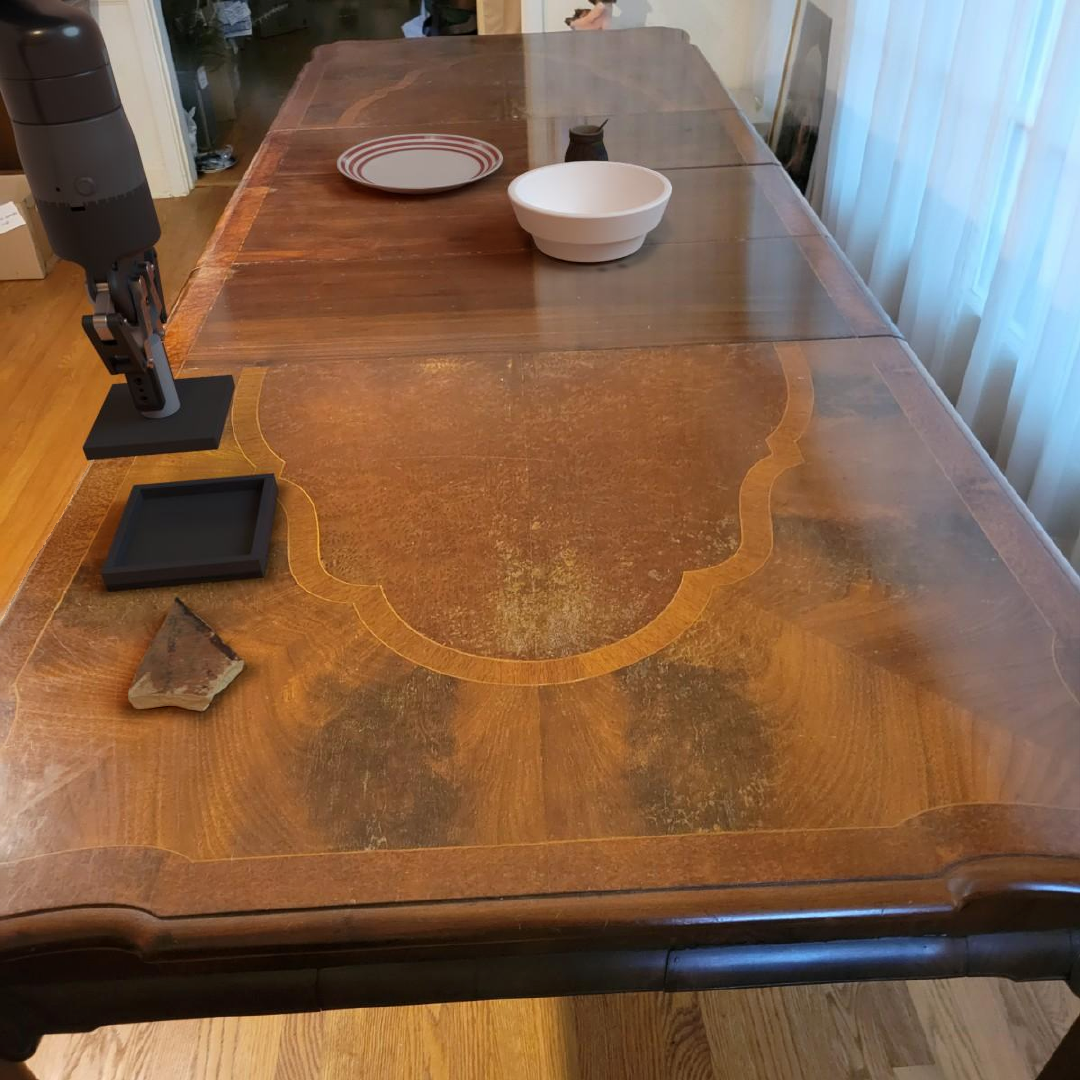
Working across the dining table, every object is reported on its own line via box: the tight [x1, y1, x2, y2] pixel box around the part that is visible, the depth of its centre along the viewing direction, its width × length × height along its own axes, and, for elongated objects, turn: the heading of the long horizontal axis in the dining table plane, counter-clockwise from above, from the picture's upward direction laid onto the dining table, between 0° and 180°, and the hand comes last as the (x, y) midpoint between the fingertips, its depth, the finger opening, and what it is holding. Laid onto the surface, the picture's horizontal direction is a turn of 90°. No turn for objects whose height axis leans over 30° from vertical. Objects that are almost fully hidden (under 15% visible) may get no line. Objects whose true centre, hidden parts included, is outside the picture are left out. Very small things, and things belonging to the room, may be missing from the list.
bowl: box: [507, 160, 673, 263], centre depth 136 cm, size 22×22×8 cm
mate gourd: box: [563, 118, 610, 163], centre depth 158 cm, size 7×8×10 cm
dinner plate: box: [336, 133, 504, 195], centre depth 164 cm, size 28×27×3 cm
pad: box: [82, 333, 236, 461], centre depth 77 cm, size 10×10×7 cm
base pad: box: [100, 472, 279, 592], centre depth 87 cm, size 13×13×2 cm
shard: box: [127, 596, 245, 712], centre depth 75 cm, size 11×8×2 cm
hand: (156, 396), depth 78 cm, fingers closed on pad, 3 cm apart
